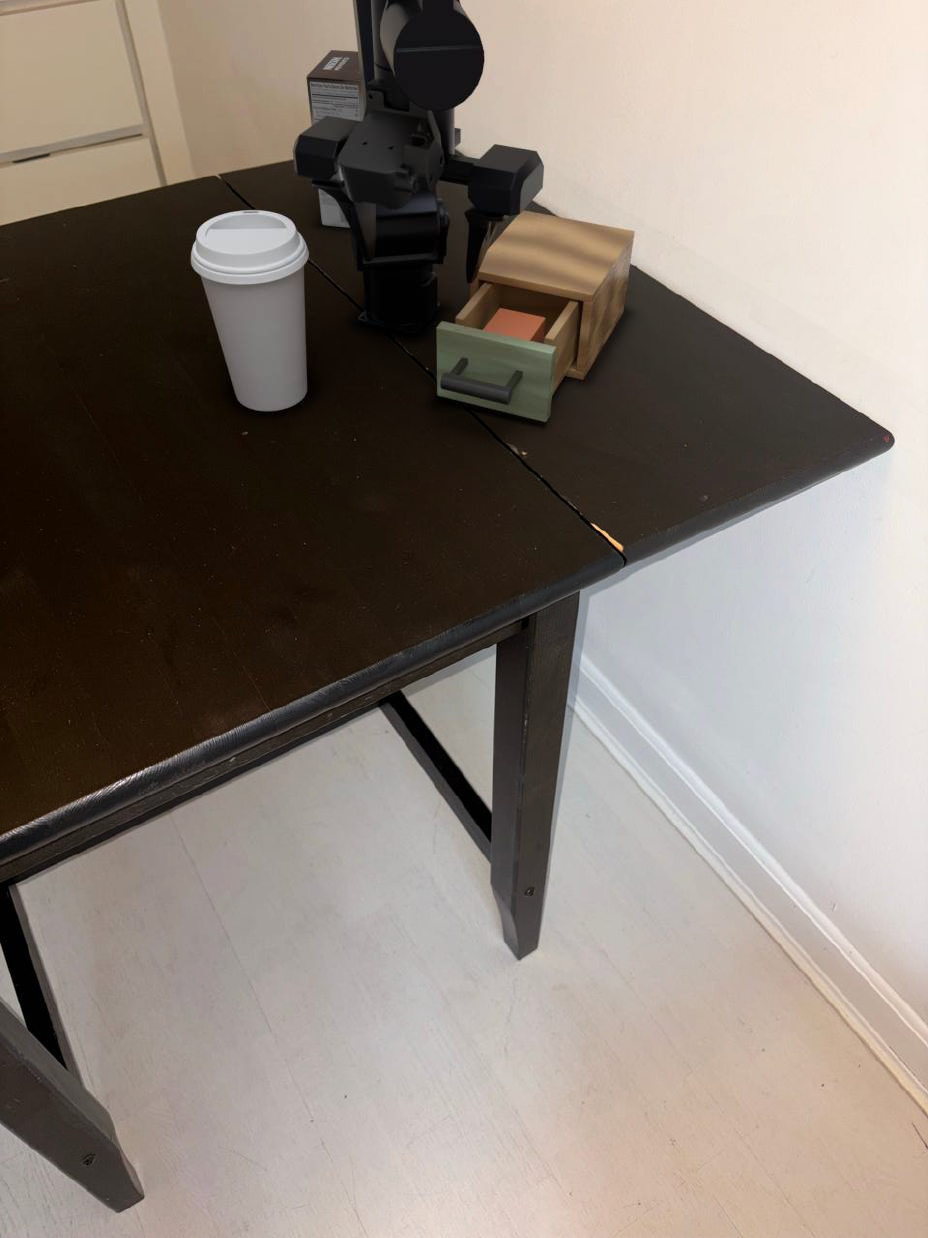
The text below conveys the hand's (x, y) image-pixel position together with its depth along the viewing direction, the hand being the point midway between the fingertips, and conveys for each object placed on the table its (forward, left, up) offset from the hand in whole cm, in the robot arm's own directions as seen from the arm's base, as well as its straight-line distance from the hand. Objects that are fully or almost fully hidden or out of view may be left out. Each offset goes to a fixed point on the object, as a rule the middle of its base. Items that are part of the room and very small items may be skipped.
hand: (419, 270), depth 79 cm
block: (+7, +4, -10) cm, 13 cm away
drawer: (+7, +3, -11) cm, 14 cm away
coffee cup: (-13, -5, -12) cm, 19 cm away
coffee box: (-23, +32, -12) cm, 41 cm away
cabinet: (+7, +15, -12) cm, 20 cm away
